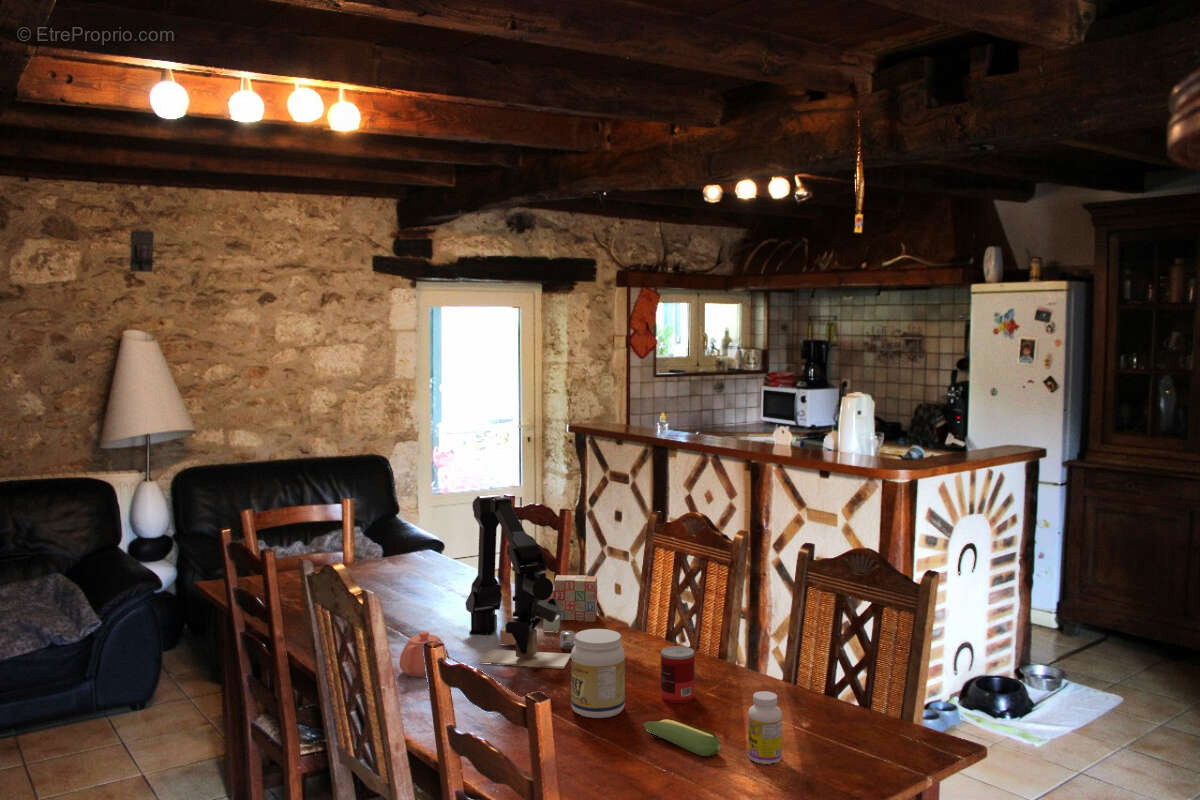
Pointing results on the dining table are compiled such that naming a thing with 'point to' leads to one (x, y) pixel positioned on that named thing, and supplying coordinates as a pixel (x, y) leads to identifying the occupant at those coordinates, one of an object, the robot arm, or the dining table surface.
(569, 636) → the metal tin
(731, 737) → the dining table surface
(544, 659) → the oak board
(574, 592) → the stack of blocks
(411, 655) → the terracotta lidded pot
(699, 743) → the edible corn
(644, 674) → the dining table surface
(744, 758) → the dining table surface
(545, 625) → the sage green block
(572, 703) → the supplement tub
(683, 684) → the canned food
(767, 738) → the supplement bottle
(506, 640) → the terracotta cube
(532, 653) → the walnut block
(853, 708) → the dining table surface
